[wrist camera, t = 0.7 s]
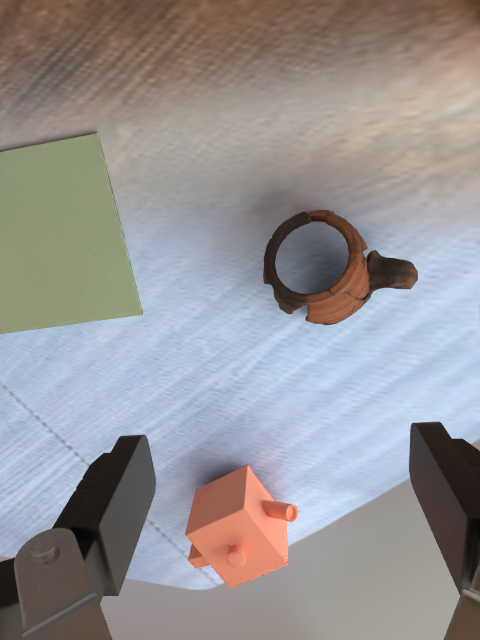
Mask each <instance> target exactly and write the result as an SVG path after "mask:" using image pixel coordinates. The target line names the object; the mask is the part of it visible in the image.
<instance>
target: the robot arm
mask: <svg viewBox="0 0 480 640" xmlns="http://www.w3.org/2000/svg"><path fill="white" fill-rule="evenodd" d="M409 472H410V478H411V483H412V486H413V489H414V491H415V494H416V496H417V498H418V501H419V503H420V505H421V507H422V509H423V512H424V514H425V517H426V519H427V521H428V523H429V526H430V528H431V530H432V532H433V535H434V537H435V539H436V542H437V544H438V546H439V548H440V551H441V553H442V555H443V558H444V560H445V562H446V564H447V567H448V569H449V571H450V573H451V576H452V578H453V580H454V582H455V585H456V587H457V589H458V592H459V594H460V595H461V596H460V598H459V601H458V604H457V606H456V609H455V611H454V614H453V617H452V619H451V622H450V624H449V627H448V630H447V633H446V635H445V637H444V640H480V451H479V450H478V449H476V448H475V447H473V446H472V445H471V444H469V443H468V442H466V441H465V440H464V439H452V438H451V437H450V435H449V434H448V432H447V431H446V429H445V428H444V426H443V425H442V423H440V422H422V423H412V425H411V431H410V456H409ZM155 487H156V478H155V471H154V467H153V462H152V457H151V453H150V448H149V443H148V439H147V437H146V436H145V435H130V436H120V437H119V439H118V440H117V442H116V444H115V446H114V448H113V449H112V451H111V453H103V454H102V455H101V456H100V457H99V458H98V459H96V460H95V461H94V462H93V463H92V464H91V465H90V466H89V468H88V470H87V471H86V473H85V475H84V476H83V480H81V481H80V483H79V484H78V486H77V488H76V491H74V493H73V494H72V496H71V498H70V499H69V501H68V503H67V504H66V506H65V508H64V509H63V511H62V513H61V514H60V516H59V518H58V519H57V521H56V522H55V524H54V526H53V527H52V529H49V530H46V531H44V532H41V533H39V534H38V535H36V536H34V537H33V538H31V539H30V540H29V541H28V542H26V543H25V544H24V545H23V546H22V548H21V549H20V550H19V552H18V553H17V555H16V557H15V558H12V559H9V560H5V561H2V562H0V640H112V637H111V635H110V632H109V629H108V626H107V623H106V620H105V617H104V615H103V612H102V609H101V606H100V602H101V600H102V597H103V596H119V593H120V590H121V587H122V584H123V581H124V579H125V576H126V573H127V570H128V567H129V565H130V562H131V559H132V556H133V553H134V551H135V548H136V545H137V542H138V539H139V537H140V534H141V531H142V528H143V525H144V523H145V520H146V517H147V514H148V511H149V508H150V506H151V503H152V500H153V497H154V494H155Z"/></svg>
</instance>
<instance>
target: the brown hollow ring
mask: <svg viewBox="0 0 480 640" xmlns="http://www.w3.org/2000/svg"><path fill="white" fill-rule="evenodd" d="M315 221H316V222H318V221H319V222H326V223H327V224H328V225H330V226H332V227H334V228H336V229H337V230H338V231H339V232H340V233H341V234H342V235H343V236H344V238H345V240H346V242H347V245H348V251H349V259H348V264H347V266H346V269H345V271H344V273H343V274H342V276H341V277H340V278H339V280H338V281H337V282H336V283H335V284H333V285H332V286H330V287H329V288H328V289H325V290H323V291H321V292H317V293H312V294H301V293H297V292H294V291H292V290H290V289H289V288H287V287H286V286H285V285H284V284H283V283H282V282H281V281H280V279H279V278H278V275H277V272H276V267H275V259H276V254H277V251H278V248H279V246H280V244H281V243H282V241H283V240H284V239H285V238H286V237H287V235H289V233H291V232H292V231H293V230H295V229H297V228H298V227H300V226H303V225H305V224H308V223H311V222H315ZM366 249H367V245H366V243H365V242H364V240H363V238H362V237H361V236H360V234H359V233H358V231H357V230H356V229H355V228H354V227H353V226H352V225H351V224H350V223H348V222H347V221H346V220H345V219H343V218H342V217H340V216H338V215H335V214H334V212H331V211H328V210H317V211H311V212H309V213H307V212H302V213H299V214H297V215H295V216H293V217H291V218H290V219H288V220H287V221H285V222H284V223H282V224H281V225H280V226H279V227H278V228H277V230H276V231H275V232H274V234H273V236H272V238H271V239H270V240H269V243H268V244H267V247H266V251H265V255H264V271H263V279H264V284H270V285H272V287H273V289H274V297H275V299H276V301H277V302H278V303H279V307H280V309H281V310H283V311H284V312H286V313H287V314H292V313H293V311H294V310H297V309H298V308H300V307H302V306H305V305H308V316H306V321H308V322H311V323H315V324H324V325H332V324H336V323H338V322H340V321H342V320H344V319H346V318H348V317H349V316H351V315H352V314H353V313H355V312H356V311H357V310H359V309H360V308H361V307H362V306H363V305H364V304H365V303H366V302H367V300H368V299H369V298H370V297H371V294H372V293H373V291H375V290H377V289H380V288H395V289H411V288H412V287H413V285H414V284H415V283H416V281H417V280H418V272H417V270H416V268H415V267H414V265H413V264H412V263H411V262H409V261H406V260H400V259H395V258H385V257H382V256H380V255H379V253H378V252H377V251H376V250H374V251H372V252H370V253H369V254H368V256H367V260H366V258H365V257H364V255H363V251H364V250H366Z"/></svg>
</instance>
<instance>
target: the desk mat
mask: <svg viewBox="0 0 480 640" xmlns="http://www.w3.org/2000/svg"><path fill="white" fill-rule="evenodd" d="M142 314H143V312H142V308H141V304H140V300H139V296H138V292H137V288H136V284H135V280H134V276H133V272H132V268H131V264H130V260H129V256H128V252H127V248H126V244H125V240H124V236H123V232H122V228H121V224H120V220H119V216H118V212H117V208H116V204H115V200H114V196H113V192H112V188H111V184H110V180H109V176H108V172H107V168H106V164H105V160H104V156H103V152H102V148H101V144H100V140H99V136H98V133H95V134H90V135H85V136H79V137H74V138H69V139H64V140H59V141H54V142H48V143H43V144H38V145H33V146H28V147H22V148H17V149H12V150H7V151H2V152H0V334H3V333H10V332H18V331H25V330H33V329H40V328H47V327H55V326H62V325H69V324H77V323H84V322H91V321H99V320H106V319H114V318H121V317H128V316H136V315H142Z"/></svg>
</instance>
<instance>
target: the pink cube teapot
mask: <svg viewBox="0 0 480 640" xmlns="http://www.w3.org/2000/svg"><path fill="white" fill-rule="evenodd" d="M297 514H298V511H297V507H296V506H295V505H293V504H287V503H280V502H275V500H274V499H273V498H272V496H271V495H270V494H269V492H268V491H267V490H266V488H265V487H264V485H263V484H262V483H261V481H260V480H259V479H258V477H257V476H256V475H255V473H254V472H253V471H252V469H251V468H250V467H249V465H248V464H247V465H245V466H243V467H241V468H239V469H237V470H235V471H233V472H231V473H229V474H227V475H225V476H223V477H221V478H219V479H217V480H215V481H213V482H211V483H209V484H206V485H204V486H202V487H200V488H198V489H196V491H195V495H194V499H193V504H192V508H191V512H190V516H189V520H188V524H187V528H186V533H185V535H186V536H187V538H188V539H189V540H190V541H191V542H192V546H191V550H190V554H189V558H188V561H189V562H190V563H191V564H192V565H193V566H194V568H199V567H203V566H207V565H211V566H212V568H213V569H214V570H215V571H216V572H217V573H218V575H219V576H220V577H221V578H222V579H223V580H224V582H225V583H226V584H227V585H228V586H229V587H230V588H232V587H234V586H237V585H239V584H242V583H244V582H247V581H250V580H252V579H255V578H257V577H259V576H262V575H264V574H267V573H269V572H271V571H274V570H276V569H278V568H281V567H283V566H286V565H288V544H287V521H290V522H293V521H295V519H296V518H297Z"/></svg>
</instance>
